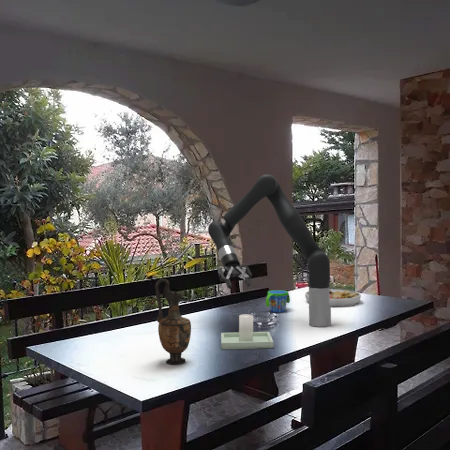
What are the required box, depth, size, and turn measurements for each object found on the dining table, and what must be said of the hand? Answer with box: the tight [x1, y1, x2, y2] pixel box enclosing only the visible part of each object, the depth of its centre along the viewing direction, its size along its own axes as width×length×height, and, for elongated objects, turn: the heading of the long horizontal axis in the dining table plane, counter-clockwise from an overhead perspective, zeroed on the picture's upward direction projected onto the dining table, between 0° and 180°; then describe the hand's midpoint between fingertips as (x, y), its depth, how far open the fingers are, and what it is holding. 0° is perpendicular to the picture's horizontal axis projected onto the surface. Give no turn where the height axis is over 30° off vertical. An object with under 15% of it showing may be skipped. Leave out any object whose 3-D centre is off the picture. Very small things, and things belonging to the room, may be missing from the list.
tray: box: [220, 331, 275, 350], centre depth 200 cm, size 20×15×2 cm
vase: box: [154, 278, 192, 366], centre depth 178 cm, size 12×12×30 cm
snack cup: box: [265, 289, 291, 313], centre depth 258 cm, size 16×10×10 cm
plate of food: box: [304, 288, 361, 308], centre depth 278 cm, size 30×30×8 cm
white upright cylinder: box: [238, 313, 254, 342], centre depth 200 cm, size 6×6×10 cm
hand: (239, 286), depth 215 cm, fingers open, 8 cm apart
